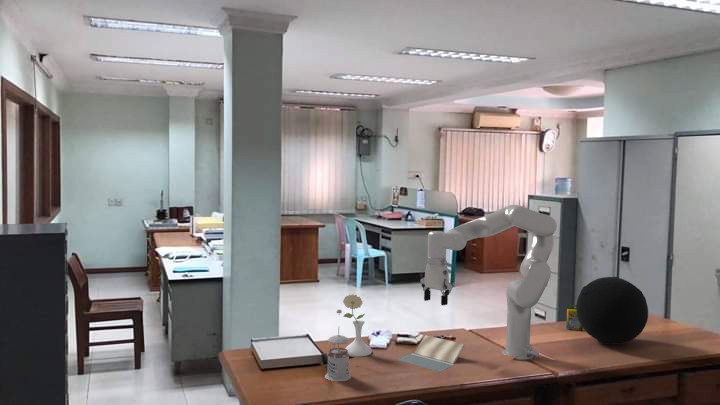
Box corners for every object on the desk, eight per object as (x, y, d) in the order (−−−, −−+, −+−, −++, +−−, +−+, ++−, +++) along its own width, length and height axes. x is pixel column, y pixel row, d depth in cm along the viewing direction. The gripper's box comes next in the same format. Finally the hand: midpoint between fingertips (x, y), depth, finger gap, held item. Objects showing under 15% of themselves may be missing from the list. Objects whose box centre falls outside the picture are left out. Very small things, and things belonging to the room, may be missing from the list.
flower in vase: (376, 353, 238) (377, 293, 237) (364, 361, 228) (366, 299, 227) (347, 348, 244) (349, 290, 242) (335, 356, 234) (336, 295, 232)
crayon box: (567, 329, 280) (568, 306, 279) (566, 328, 283) (567, 304, 282) (582, 330, 279) (583, 307, 278) (581, 329, 281) (582, 305, 281)
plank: (464, 346, 230) (463, 344, 229) (453, 365, 224) (452, 363, 223) (426, 337, 241) (425, 335, 241) (415, 355, 235) (414, 353, 235)
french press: (330, 383, 205) (331, 313, 203) (319, 372, 215) (320, 306, 214) (355, 379, 209) (356, 311, 207) (343, 369, 219) (344, 304, 218)
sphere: (659, 354, 244) (663, 284, 242) (589, 353, 244) (592, 283, 242) (628, 334, 273) (631, 272, 271) (565, 333, 274) (568, 270, 272)
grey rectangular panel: (454, 367, 223) (454, 364, 223) (439, 375, 214) (439, 371, 214) (411, 356, 235) (411, 353, 235) (396, 363, 227) (396, 359, 227)
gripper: (458, 263, 231) (457, 305, 232) (428, 257, 245) (427, 297, 246) (445, 265, 226) (444, 308, 227) (415, 259, 240) (414, 299, 241)
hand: (435, 302), depth 237 cm, fingers open, 9 cm apart
